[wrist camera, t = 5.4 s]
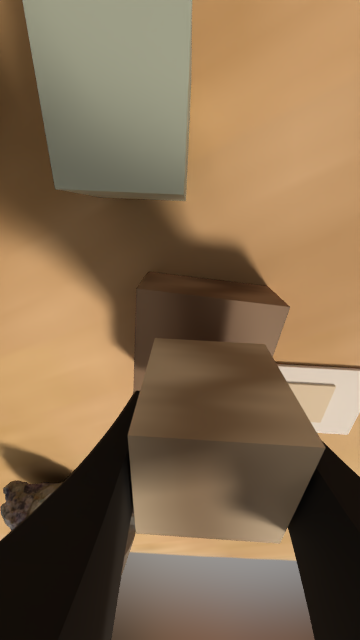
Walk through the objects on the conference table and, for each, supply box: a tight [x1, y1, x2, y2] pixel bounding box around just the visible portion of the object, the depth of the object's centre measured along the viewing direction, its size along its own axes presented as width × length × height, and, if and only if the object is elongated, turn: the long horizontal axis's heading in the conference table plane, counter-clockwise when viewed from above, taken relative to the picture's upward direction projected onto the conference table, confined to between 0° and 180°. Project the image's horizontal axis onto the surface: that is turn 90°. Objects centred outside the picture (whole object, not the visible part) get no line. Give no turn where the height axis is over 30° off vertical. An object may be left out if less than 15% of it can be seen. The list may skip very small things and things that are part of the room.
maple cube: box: [128, 338, 325, 544], centre depth 9 cm, size 5×5×5 cm
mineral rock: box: [1, 481, 136, 575], centre depth 22 cm, size 13×11×10 cm
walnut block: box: [133, 272, 290, 393], centre depth 15 cm, size 8×8×4 cm
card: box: [277, 364, 360, 435], centre depth 19 cm, size 10×7×1 cm
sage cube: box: [22, 0, 192, 201], centre depth 10 cm, size 5×5×5 cm
